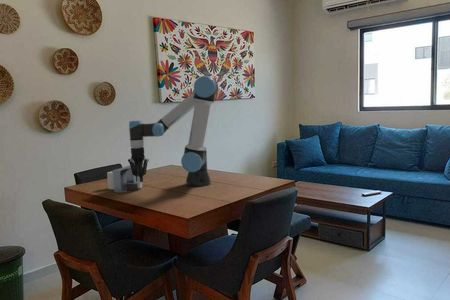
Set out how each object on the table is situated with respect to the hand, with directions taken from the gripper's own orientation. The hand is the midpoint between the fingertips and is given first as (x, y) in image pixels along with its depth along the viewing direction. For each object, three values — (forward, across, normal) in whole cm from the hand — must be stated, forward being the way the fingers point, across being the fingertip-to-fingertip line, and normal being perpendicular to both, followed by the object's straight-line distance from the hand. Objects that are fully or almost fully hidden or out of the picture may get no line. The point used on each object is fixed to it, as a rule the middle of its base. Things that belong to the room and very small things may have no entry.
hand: (140, 187), depth 220 cm
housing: (+1, +9, 0) cm, 9 cm away
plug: (+1, +11, 0) cm, 11 cm away
